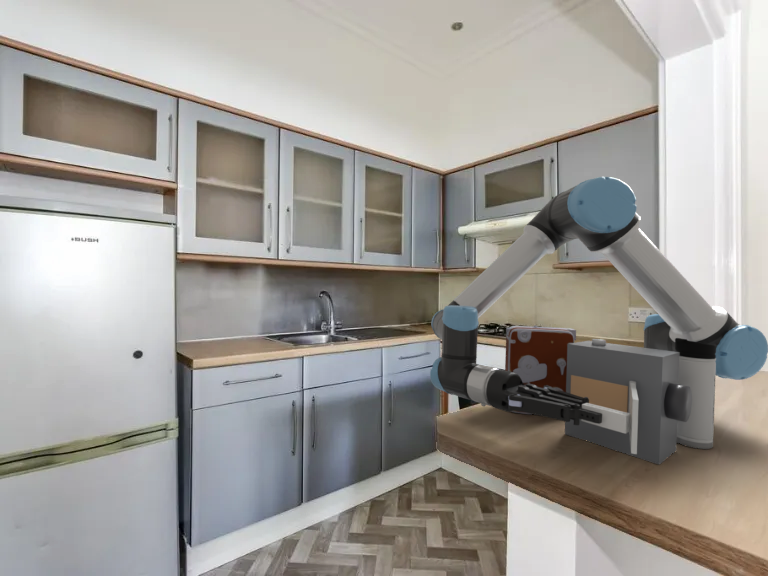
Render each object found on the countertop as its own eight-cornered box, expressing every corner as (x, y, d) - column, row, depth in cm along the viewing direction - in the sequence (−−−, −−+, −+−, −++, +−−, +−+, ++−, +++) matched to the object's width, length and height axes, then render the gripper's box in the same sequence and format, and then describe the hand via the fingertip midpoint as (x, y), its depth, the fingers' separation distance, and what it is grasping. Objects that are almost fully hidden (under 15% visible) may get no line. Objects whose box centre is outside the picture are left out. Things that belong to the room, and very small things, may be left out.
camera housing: (692, 456, 69) (696, 348, 69) (676, 470, 63) (680, 353, 63) (585, 424, 83) (588, 335, 83) (564, 434, 77) (567, 338, 77)
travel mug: (661, 436, 78) (665, 336, 77) (692, 436, 78) (696, 336, 78) (688, 449, 71) (692, 341, 71) (722, 449, 72) (726, 341, 72)
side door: (627, 428, 68) (629, 380, 68) (634, 429, 68) (636, 381, 68) (629, 454, 57) (631, 397, 57) (637, 456, 57) (639, 398, 57)
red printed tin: (600, 423, 85) (603, 331, 84) (506, 414, 88) (509, 326, 88) (587, 409, 94) (589, 326, 93) (502, 402, 97) (505, 323, 97)
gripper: (514, 401, 81) (643, 438, 63) (473, 412, 73) (608, 459, 55) (515, 365, 81) (645, 392, 63) (475, 373, 73) (610, 406, 55)
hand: (627, 423), depth 59 cm, fingers closed
